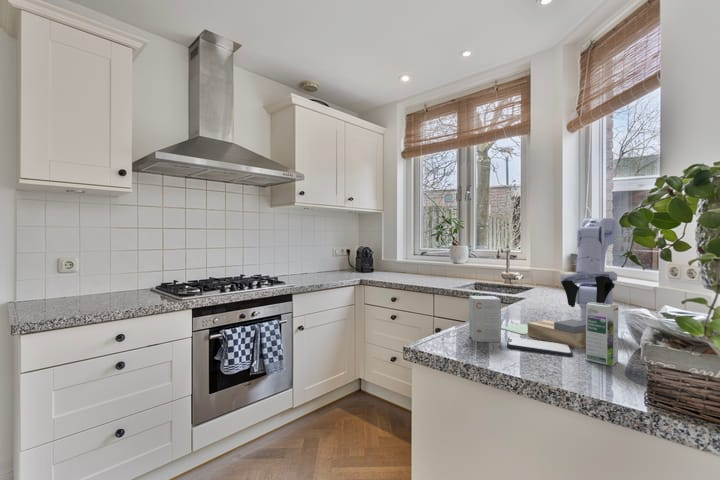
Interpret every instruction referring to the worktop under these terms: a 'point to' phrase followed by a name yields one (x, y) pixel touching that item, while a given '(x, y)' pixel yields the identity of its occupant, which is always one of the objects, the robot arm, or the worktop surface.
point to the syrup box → (602, 333)
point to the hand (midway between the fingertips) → (585, 305)
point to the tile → (571, 326)
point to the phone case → (539, 346)
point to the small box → (485, 318)
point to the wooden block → (555, 334)
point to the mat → (517, 329)
